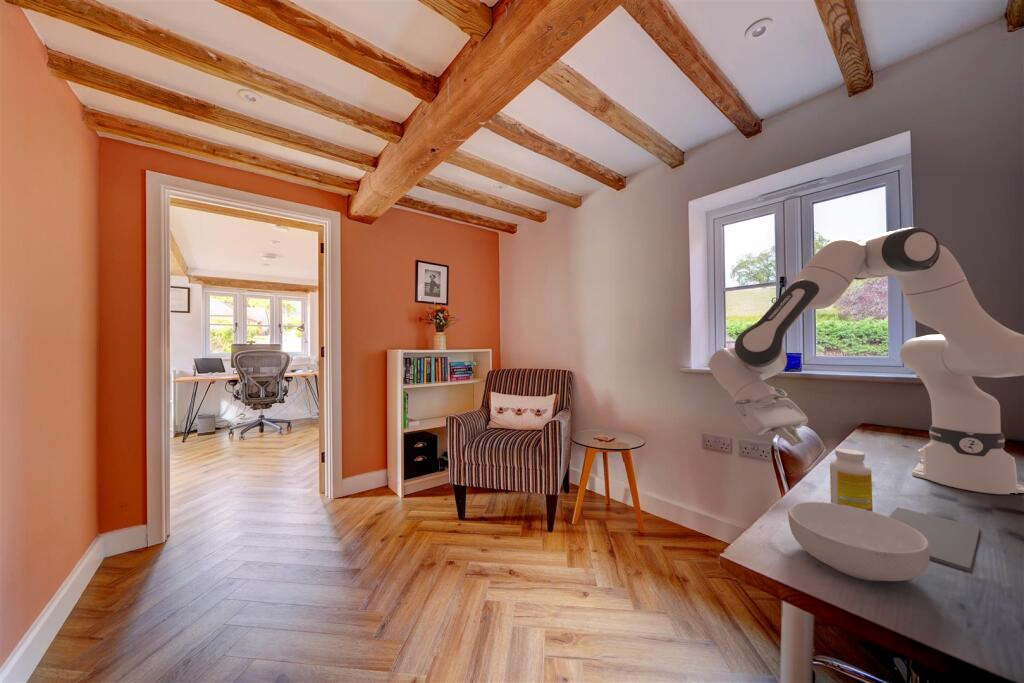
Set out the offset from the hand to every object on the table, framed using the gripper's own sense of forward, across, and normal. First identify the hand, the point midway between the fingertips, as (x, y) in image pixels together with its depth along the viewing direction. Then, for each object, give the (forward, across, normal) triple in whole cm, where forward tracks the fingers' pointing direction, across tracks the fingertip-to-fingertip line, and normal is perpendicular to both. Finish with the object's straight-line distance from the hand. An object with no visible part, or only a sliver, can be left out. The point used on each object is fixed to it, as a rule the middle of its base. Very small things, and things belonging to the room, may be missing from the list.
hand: (798, 444), depth 88 cm
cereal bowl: (+23, -25, -5) cm, 34 cm away
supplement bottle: (+16, 0, +2) cm, 16 cm away
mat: (+24, 0, -7) cm, 25 cm away
